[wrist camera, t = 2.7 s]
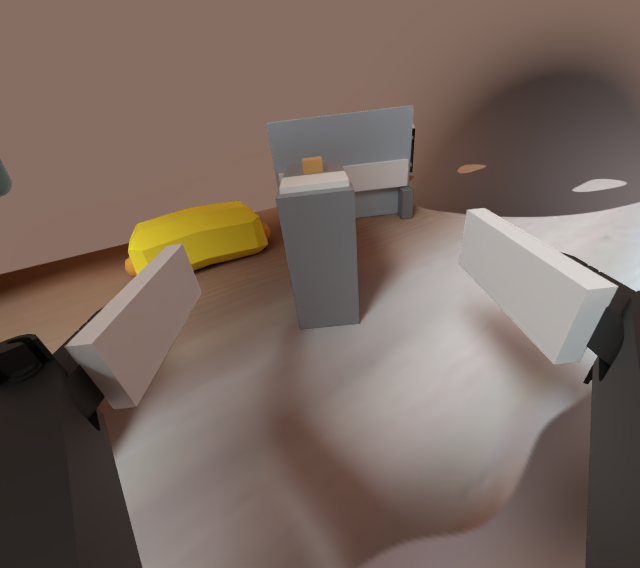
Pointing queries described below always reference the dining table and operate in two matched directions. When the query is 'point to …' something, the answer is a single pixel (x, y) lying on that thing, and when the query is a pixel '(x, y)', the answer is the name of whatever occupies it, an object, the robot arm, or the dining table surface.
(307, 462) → the dining table surface
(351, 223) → the block
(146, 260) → the yellow faceted gourd
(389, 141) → the rail panel
